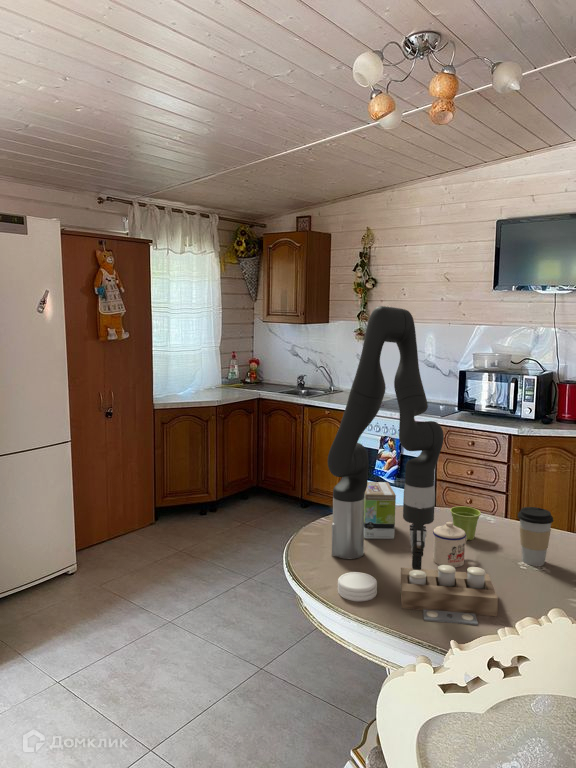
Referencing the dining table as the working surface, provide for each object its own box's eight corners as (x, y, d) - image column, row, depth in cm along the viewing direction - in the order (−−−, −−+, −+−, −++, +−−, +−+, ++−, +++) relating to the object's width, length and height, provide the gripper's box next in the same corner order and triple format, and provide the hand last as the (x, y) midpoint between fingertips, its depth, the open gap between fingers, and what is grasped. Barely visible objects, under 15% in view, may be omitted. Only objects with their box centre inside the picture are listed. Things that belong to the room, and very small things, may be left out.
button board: (401, 608, 136) (401, 590, 136) (400, 583, 149) (400, 567, 148) (497, 616, 132) (497, 598, 132) (487, 590, 145) (488, 573, 145)
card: (424, 620, 131) (424, 617, 131) (422, 610, 135) (422, 608, 135) (478, 625, 129) (478, 622, 128) (475, 615, 133) (475, 612, 133)
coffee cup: (551, 558, 165) (553, 508, 163) (551, 571, 156) (553, 519, 154) (516, 552, 169) (518, 504, 167) (514, 565, 160) (516, 514, 158)
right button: (468, 589, 137) (468, 573, 137) (465, 581, 141) (466, 566, 141) (486, 590, 136) (486, 575, 136) (483, 582, 141) (483, 567, 140)
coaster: (376, 604, 139) (376, 590, 138) (336, 600, 140) (336, 587, 140) (377, 585, 148) (377, 572, 148) (339, 582, 150) (339, 570, 150)
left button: (409, 592, 140) (409, 576, 139) (408, 584, 144) (408, 569, 144) (426, 593, 139) (426, 578, 139) (425, 585, 143) (425, 570, 143)
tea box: (395, 539, 179) (396, 494, 178) (363, 539, 179) (364, 494, 178) (387, 522, 194) (388, 480, 192) (358, 522, 194) (359, 480, 193)
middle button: (438, 587, 138) (438, 571, 138) (436, 579, 143) (437, 564, 142) (456, 588, 138) (456, 572, 137) (454, 580, 142) (454, 565, 141)
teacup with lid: (451, 571, 156) (452, 530, 155) (425, 560, 164) (426, 521, 162) (477, 560, 163) (479, 521, 162) (452, 550, 170) (453, 513, 169)
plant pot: (483, 535, 182) (484, 509, 181) (475, 545, 174) (476, 518, 174) (454, 529, 187) (454, 504, 186) (445, 539, 179) (446, 512, 178)
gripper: (402, 492, 146) (400, 556, 148) (403, 509, 133) (401, 579, 135) (432, 494, 145) (430, 558, 147) (436, 511, 132) (433, 582, 134)
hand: (416, 568), depth 141 cm, fingers closed
